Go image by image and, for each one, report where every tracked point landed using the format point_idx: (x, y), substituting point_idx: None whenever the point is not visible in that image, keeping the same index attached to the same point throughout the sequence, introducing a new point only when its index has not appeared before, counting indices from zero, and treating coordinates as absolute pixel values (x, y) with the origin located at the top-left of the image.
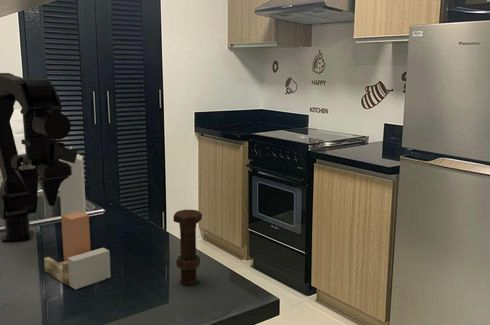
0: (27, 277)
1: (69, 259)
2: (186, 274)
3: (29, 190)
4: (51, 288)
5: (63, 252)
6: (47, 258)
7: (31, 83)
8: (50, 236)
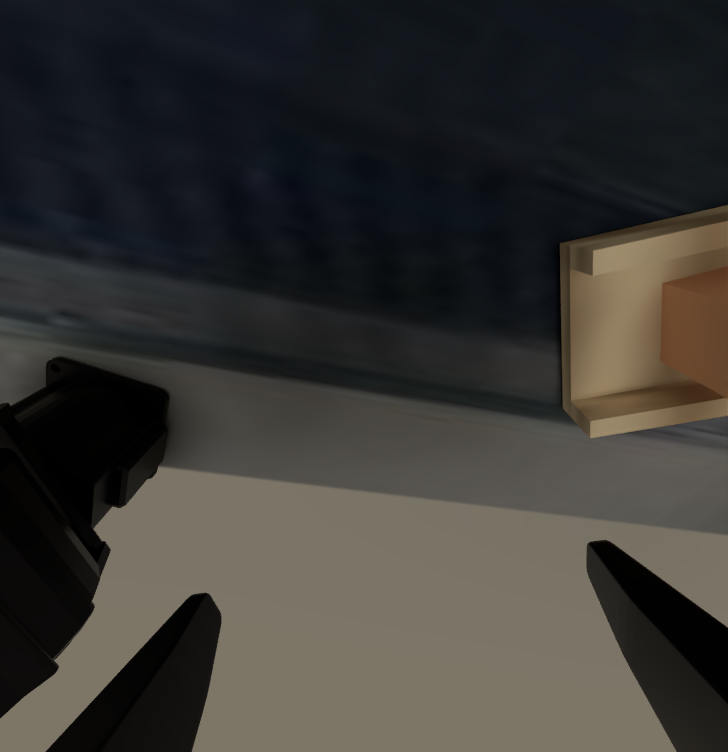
0: (562, 458)
1: None
2: None
3: (195, 730)
4: None
5: (724, 396)
6: (607, 428)
7: None
8: (140, 300)
